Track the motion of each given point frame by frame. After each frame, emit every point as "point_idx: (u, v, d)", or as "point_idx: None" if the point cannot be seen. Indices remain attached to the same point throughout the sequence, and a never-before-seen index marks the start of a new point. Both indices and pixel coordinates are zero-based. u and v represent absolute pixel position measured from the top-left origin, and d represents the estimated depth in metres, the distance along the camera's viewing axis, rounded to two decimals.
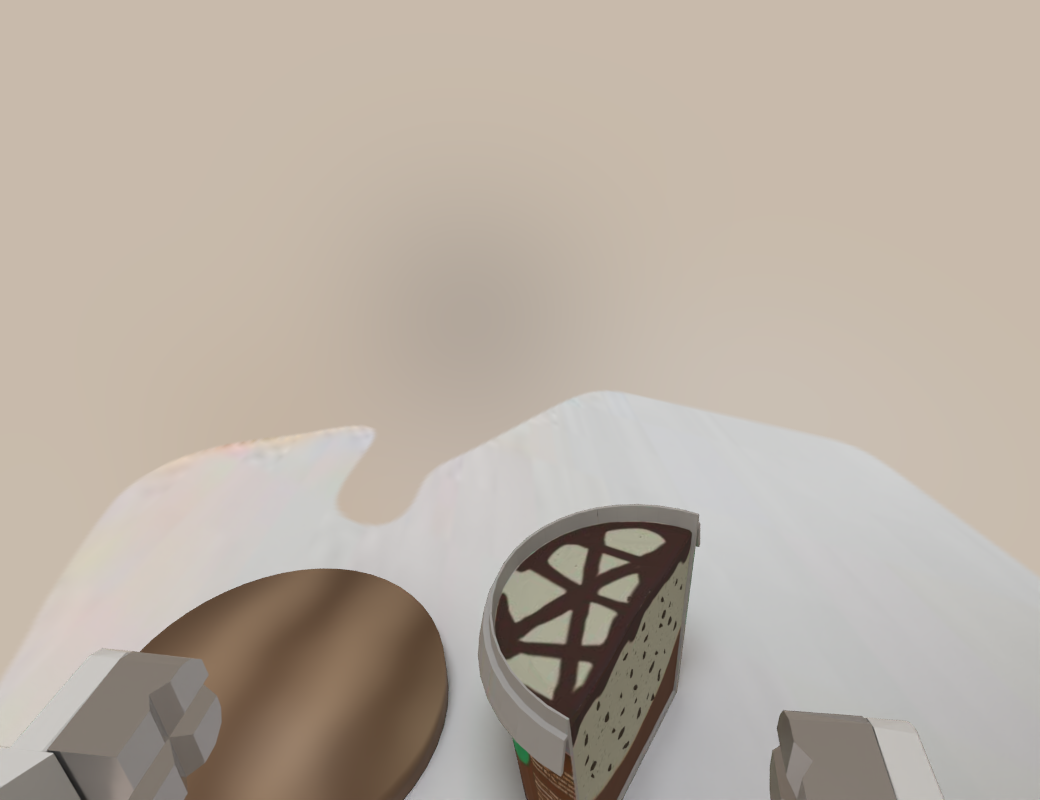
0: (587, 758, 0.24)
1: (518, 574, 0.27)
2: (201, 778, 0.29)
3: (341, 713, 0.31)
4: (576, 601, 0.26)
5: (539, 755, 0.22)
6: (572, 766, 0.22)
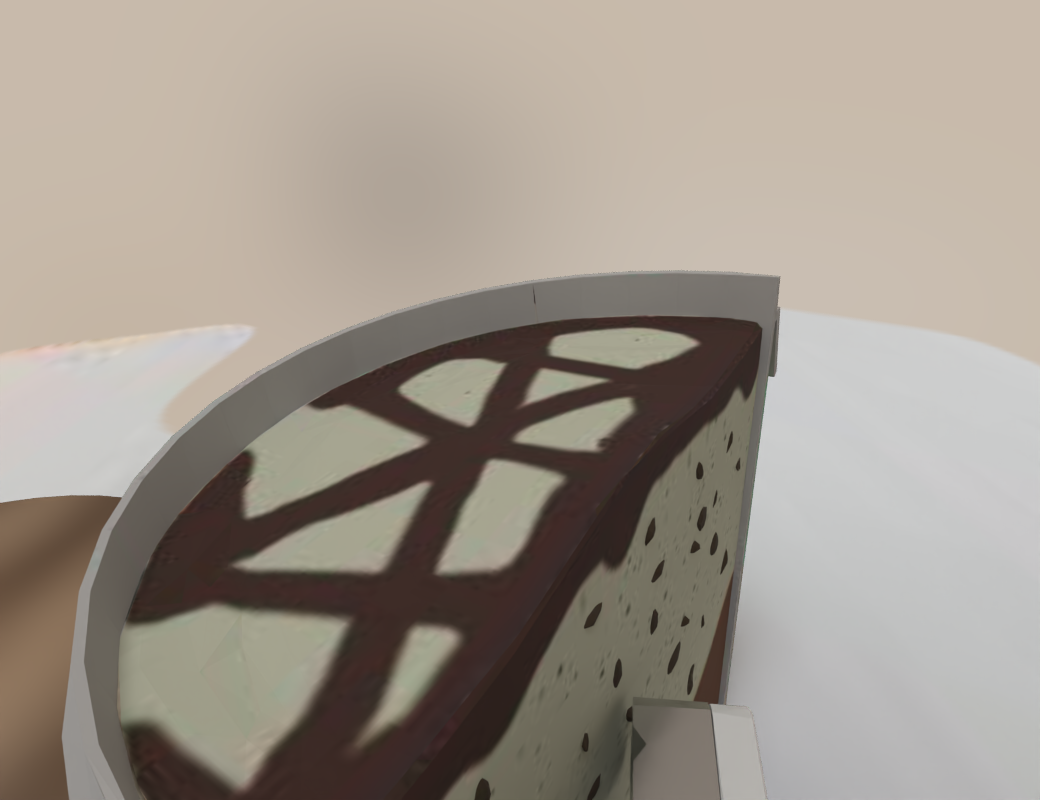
0: None
1: (310, 413, 0.10)
2: None
3: None
4: (450, 460, 0.09)
5: None
6: None
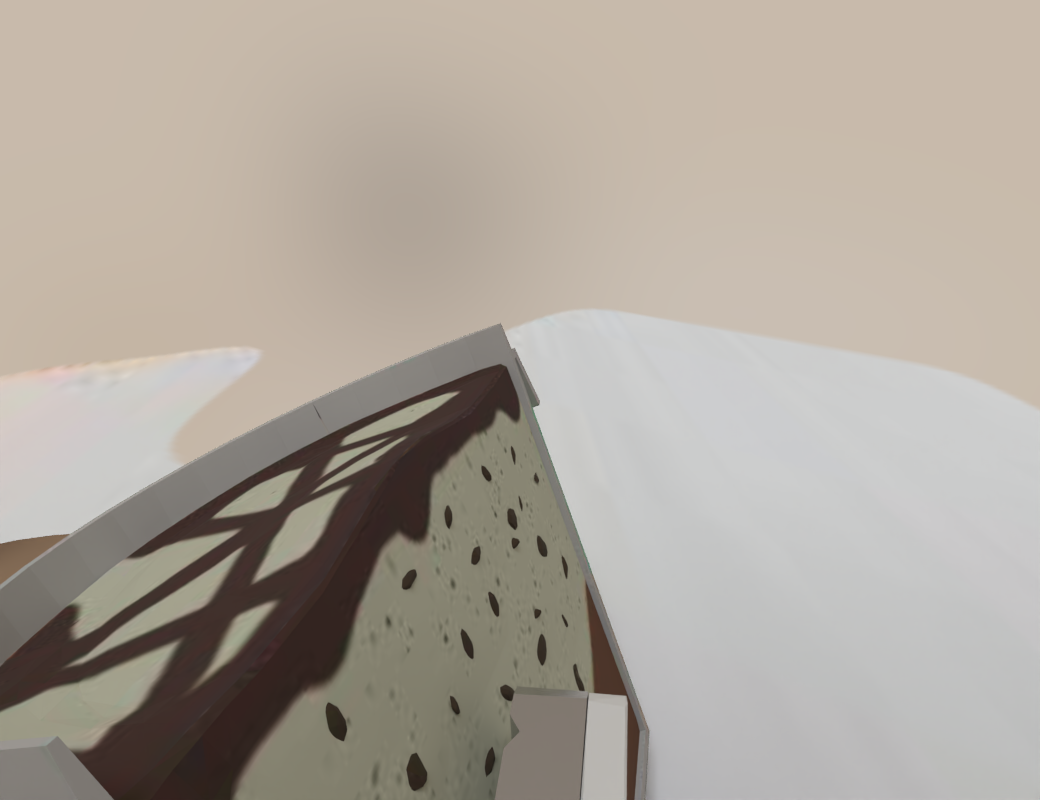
0: None
1: (130, 562, 0.11)
2: None
3: None
4: (260, 529, 0.10)
5: None
6: None
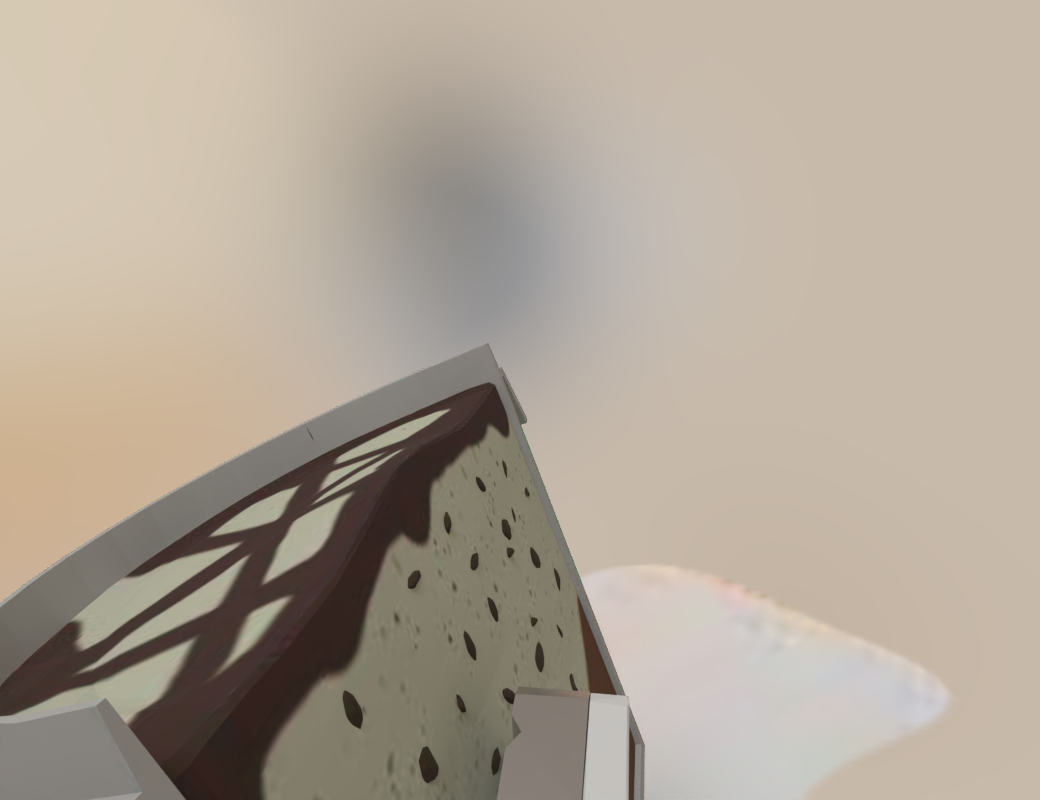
0: None
1: (129, 581, 0.11)
2: None
3: None
4: (263, 539, 0.10)
5: None
6: None
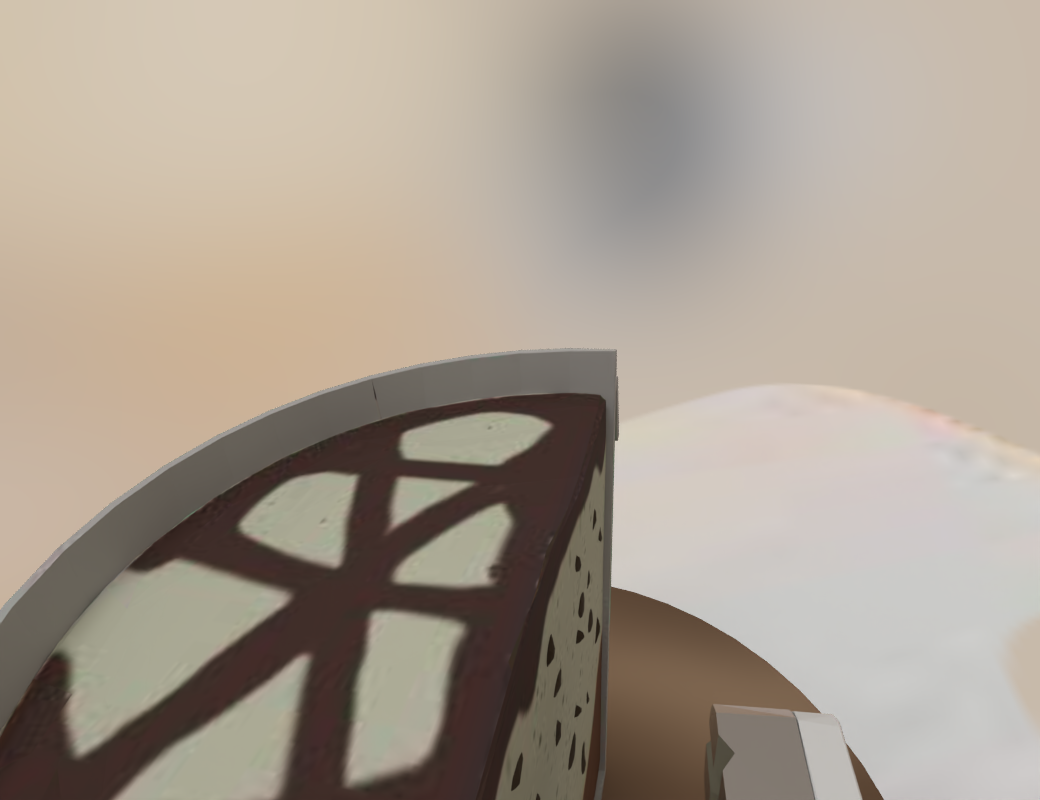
0: None
1: (133, 580, 0.08)
2: None
3: None
4: (325, 619, 0.08)
5: None
6: None
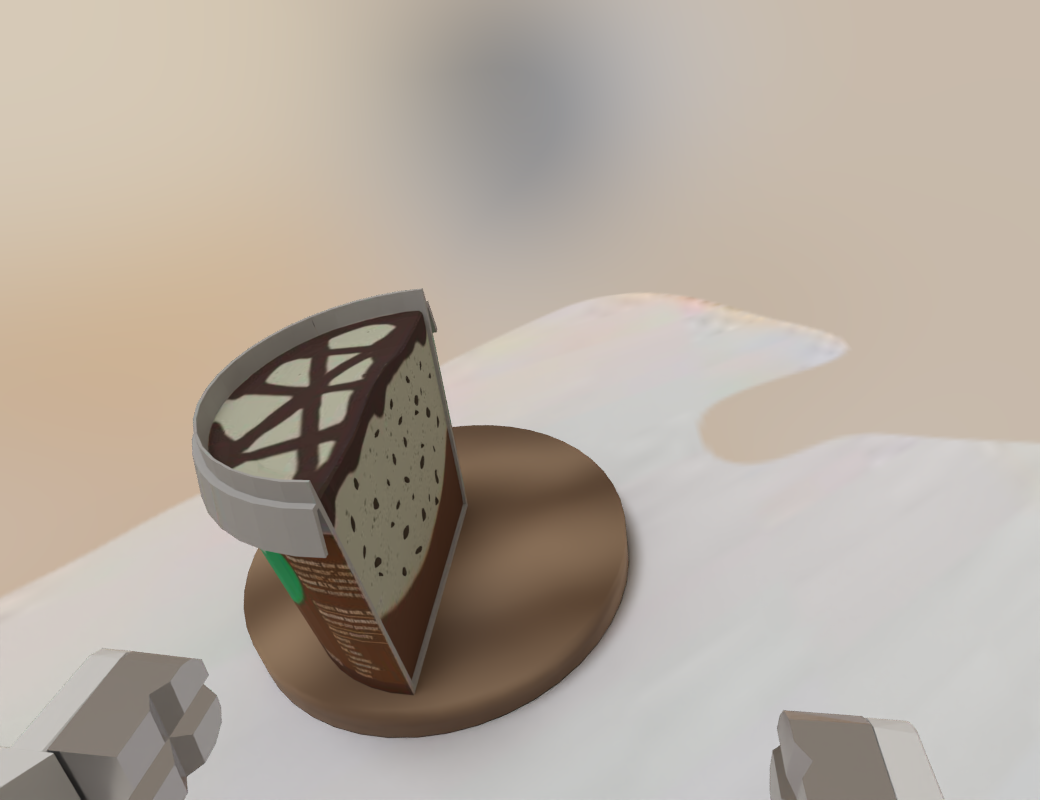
0: (364, 549, 0.20)
1: (231, 402, 0.22)
2: None
3: None
4: (306, 400, 0.22)
5: (294, 547, 0.17)
6: (341, 549, 0.18)
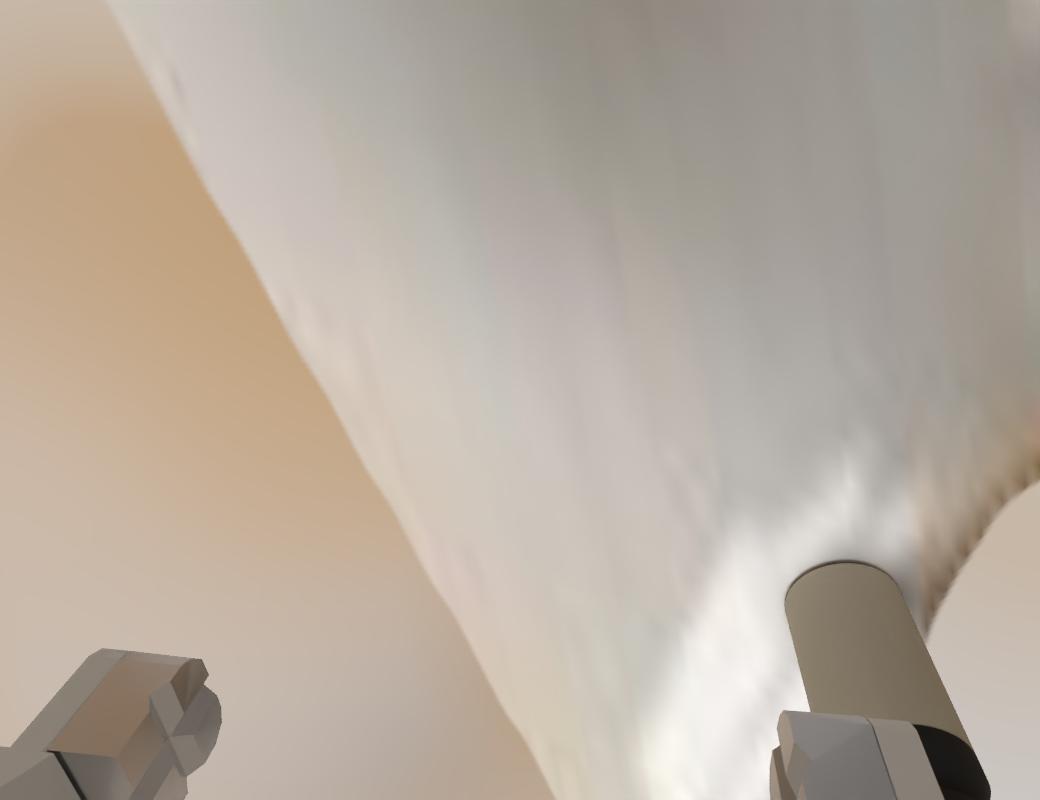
0: None
1: None
2: None
3: None
4: None
5: None
6: None
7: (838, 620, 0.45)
